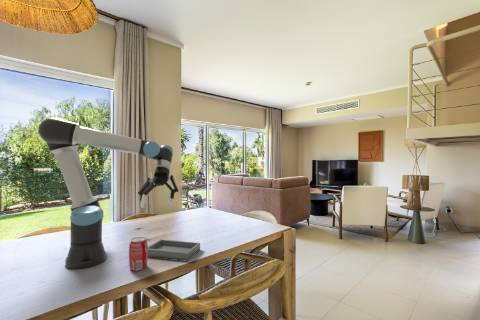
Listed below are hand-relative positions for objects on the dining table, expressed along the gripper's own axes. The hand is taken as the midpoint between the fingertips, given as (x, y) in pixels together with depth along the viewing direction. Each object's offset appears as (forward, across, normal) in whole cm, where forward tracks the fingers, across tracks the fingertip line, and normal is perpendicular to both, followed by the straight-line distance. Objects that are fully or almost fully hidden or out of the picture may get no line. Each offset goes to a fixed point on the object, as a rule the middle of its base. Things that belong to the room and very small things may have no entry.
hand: (155, 206), depth 115 cm
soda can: (+28, +3, -2) cm, 28 cm away
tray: (+18, -6, -15) cm, 24 cm away
